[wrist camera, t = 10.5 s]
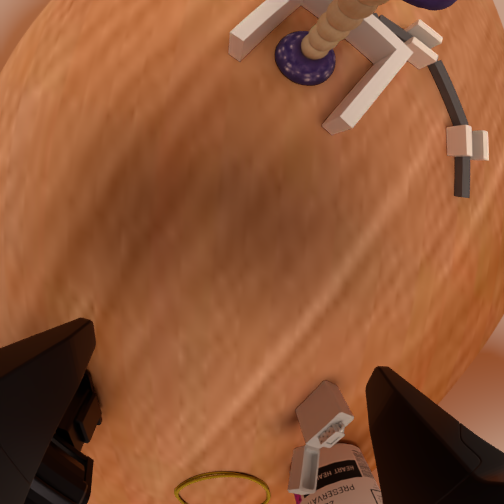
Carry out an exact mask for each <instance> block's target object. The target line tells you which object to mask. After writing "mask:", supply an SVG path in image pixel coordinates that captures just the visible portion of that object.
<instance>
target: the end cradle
mask: <svg viewBox="0 0 504 504" xmlns="http://www.w3.org/2000/svg"><path fill="white" fill-rule="evenodd" d="M332 1H334V0H266V1H265V2H263V3H262V4H261V5H260V6H259V7H257V8H256V9H255V10H254V11H253V12H252V13H250V14H249V15H248V16H247V17H246V18H245V19H244V20H243V21H241V22H240V23H239V24H238V25H237V26H236V27H235V28H234V29H233V30H232V31H231V32H230V38H229V53H228V54H229V55H231V56H232V57H234V58H235V59H237V60H238V61H239V62H240V61H241V60H242V59H243V58H244V57H245V56H246V55H247V54H248V53H249V52H250V51H251V50H252V49H253V48H254V47H255V46H256V45H258V44H259V43H260V42H261V41H262V40H263V39H264V38H265V37H266V36H267V35H268V34H269V33H270V32H271V31H272V30H273V29H274V28H276V27H277V26H278V25H279V24H280V23H281V22H282V21H283V20H284V19H286V18H287V17H288V16H289V15H290V14H291V13H293V12H294V11H295V10H296V9H297V8H298V7H300V6H302V7H304V8H305V9H307V10H308V11H310V12H311V13H312V14H314V15H315V16H316V17H318V18H319V17H320V16H321V15H322V14H323V13H325V12H326V11H327V8H328V6H329V4H330V3H331V2H332ZM345 39H346V40H347V41H348V42H349V43H351V44H352V45H353V46H354V47H355V48H356V49H358V50H359V51H360V52H361V53H362V54H363V55H364V56H365V57H367V58H368V59H369V60H370V61H371V62H372V63H373V64H374V65H373V66H372V67H371V68H370V69H369V70H368V71H367V73H366V74H365V75H364V76H363V77H362V78H361V79H360V81H359V82H358V83H357V84H356V85H355V86H354V88H353V89H352V90H351V91H350V92H349V93H348V95H347V96H346V97H345V98H344V99H343V100H342V102H341V103H340V104H339V105H338V106H337V107H336V109H335V110H334V111H333V112H332V113H331V115H330V116H329V117H328V118H327V119H326V120H325V122H324V123H323V124H322V125H321V126H322V127H323V128H325V129H326V130H327V131H328V132H329V133H330V134H331V135H334V134H337V133H340V132H343V131H346V130H349V129H352V128H353V127H354V126H355V125H356V123H357V122H358V121H359V120H360V118H361V117H362V116H363V115H364V113H365V112H366V111H367V110H368V108H369V107H370V106H371V105H372V104H373V102H374V101H375V100H376V99H377V97H378V96H379V95H380V94H381V92H382V91H383V90H384V89H385V87H386V86H387V85H388V84H389V82H390V81H391V80H392V79H393V77H394V76H395V75H396V74H397V73H398V71H399V70H400V69H401V68H402V66H403V65H404V64H405V63H406V61H407V60H408V59H409V58H410V56H411V55H412V54H413V52H412V51H411V50H410V49H409V48H408V47H407V46H406V45H405V44H404V43H403V42H402V41H401V40H400V39H399V38H398V37H397V36H396V35H395V34H394V33H393V32H392V31H391V30H390V29H389V28H388V27H387V26H385V25H384V24H383V23H382V22H381V21H380V20H379V19H378V18H376V17H375V16H374V15H373V14H372V15H370V16H369V17H367V18H364V19H363V21H362V23H361V24H360V25H359V26H358V27H357V28H355V29H353V30H351V31H350V33H349V35H348V36H347V37H346V38H345Z"/></svg>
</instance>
